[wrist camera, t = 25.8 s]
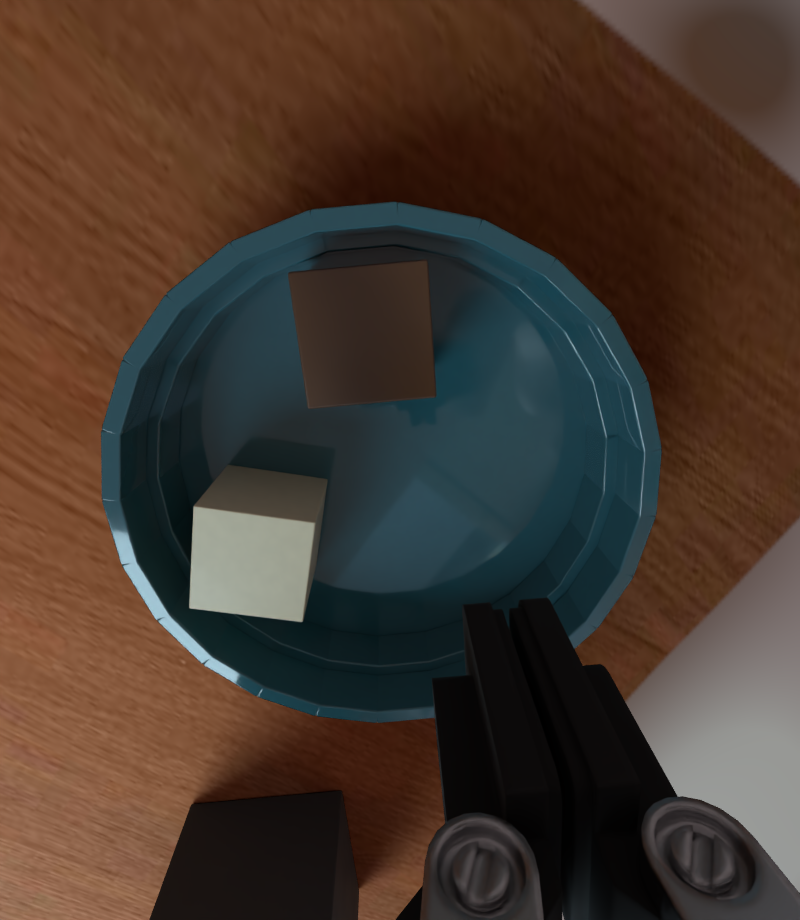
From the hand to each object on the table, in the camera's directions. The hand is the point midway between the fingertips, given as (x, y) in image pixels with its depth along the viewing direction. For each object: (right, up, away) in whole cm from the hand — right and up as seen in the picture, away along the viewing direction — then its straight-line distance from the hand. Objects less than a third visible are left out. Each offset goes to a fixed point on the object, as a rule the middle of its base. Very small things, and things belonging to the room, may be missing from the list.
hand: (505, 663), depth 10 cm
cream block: (-7, +2, +11) cm, 14 cm away
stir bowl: (-3, +4, +11) cm, 12 cm away
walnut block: (-3, +9, +9) cm, 13 cm away
